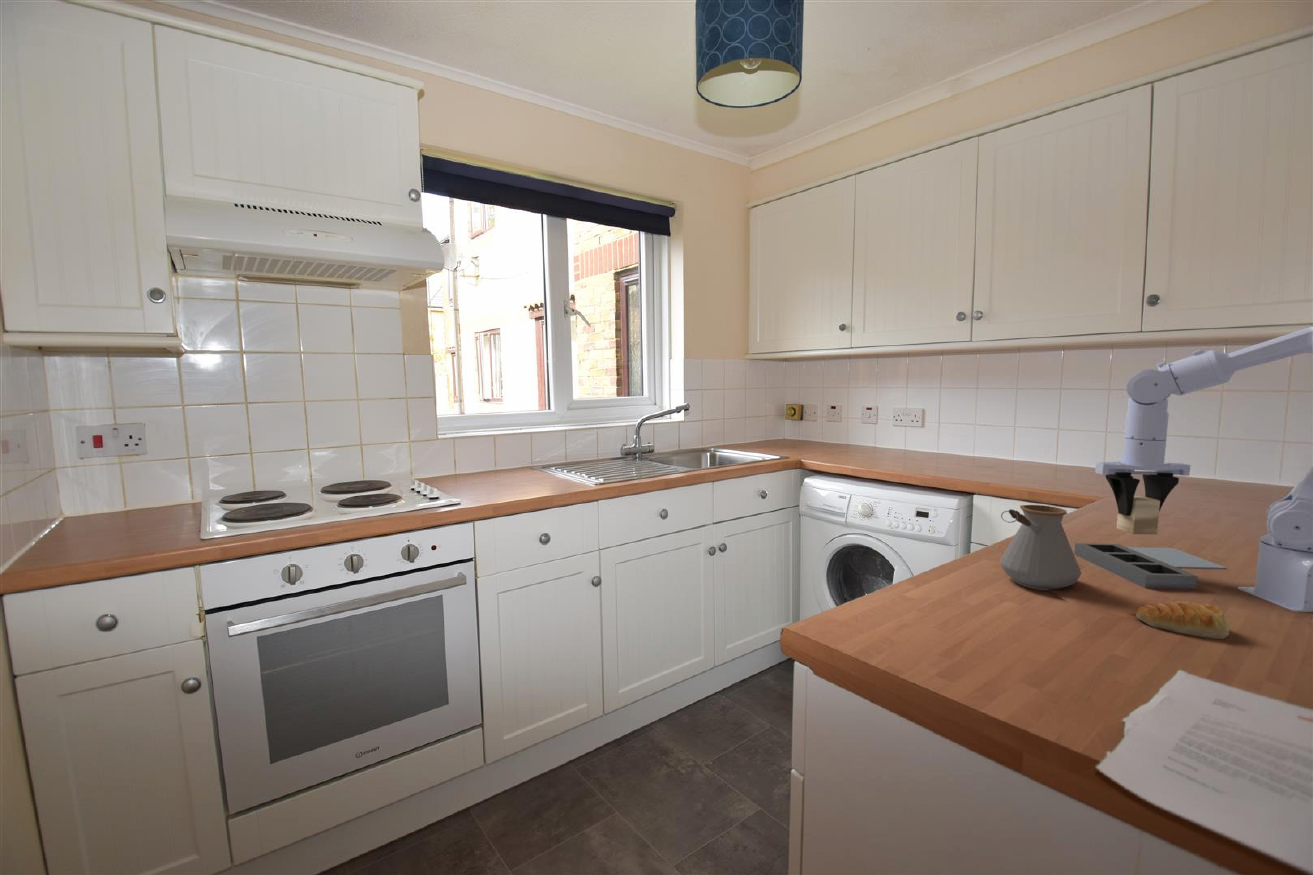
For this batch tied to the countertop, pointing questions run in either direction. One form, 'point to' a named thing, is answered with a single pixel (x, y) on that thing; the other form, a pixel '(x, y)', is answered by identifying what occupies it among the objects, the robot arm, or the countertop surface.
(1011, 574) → the coffee pot
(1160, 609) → the pastry
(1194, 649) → the countertop surface
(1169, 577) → the tray
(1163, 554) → the mat
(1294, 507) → the robot arm
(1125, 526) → the peg
